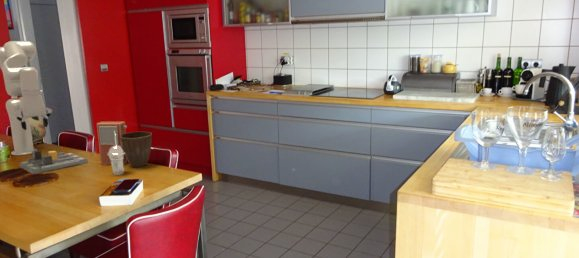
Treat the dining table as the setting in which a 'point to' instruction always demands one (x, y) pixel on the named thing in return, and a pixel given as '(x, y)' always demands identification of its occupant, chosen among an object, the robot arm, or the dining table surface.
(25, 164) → the breaker board
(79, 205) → the dining table surface
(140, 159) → the plant pot
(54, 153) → the block
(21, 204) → the dining table surface
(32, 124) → the ceramic jug
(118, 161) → the cup with straw
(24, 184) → the dining table surface
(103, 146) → the control panel
